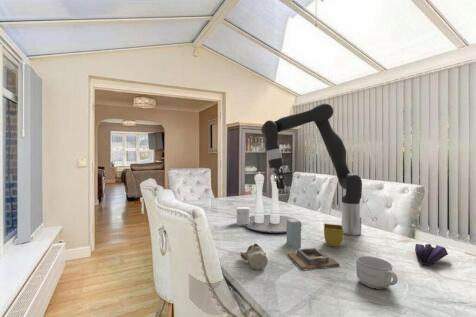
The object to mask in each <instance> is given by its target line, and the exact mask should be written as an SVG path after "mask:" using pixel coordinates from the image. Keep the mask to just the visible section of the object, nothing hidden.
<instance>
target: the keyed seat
mask: <svg viewBox="0 0 476 317" xmlns="http://www.w3.org/2000/svg"><path fill="white" fill-rule="evenodd" d="M286 255H287V257H289V259H290V260H291V261H292V262H293V263H294V264H295V263H296V264H297V265H298V266H299V267H300V268H301V269H302V270H301V269H300V268H299V267H298V266H297V265H296V264H295V265H296V266H297V267H298V268H299V269H300V270H301V271H304V270H303V269H308V270H315V268H318V269H325V267H327V268H335V267H340V263H339V262H338V261H336V260H335V259H334V258H332V257H331V256H330V255H328V254H326V253H325V252H324V251H322V250H321V249H318V248H316V247H310V248H308V247H307V248H298V249H296V252H286Z"/></svg>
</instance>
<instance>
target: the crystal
mask: <svg viewBox="0 0 476 317" xmlns="http://www.w3.org/2000/svg"><path fill="white" fill-rule="evenodd" d="M414 251H415V252H414V253H415V254H416V258H417V260H418V261H419V262H421V265H422V266H423V267H427V266H428V265H433V264H435V263H436V262H438V261H440V260H441V259H443V258H444V257H447V256H448V255H449V253H448V251H447V249H446V247H444V246H440V245H436V246H435V247H433V246H432V244H431V243H428V244H427V243H426V244H425V245H424V244H421V243H415V247H414Z"/></svg>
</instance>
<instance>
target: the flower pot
mask: <svg viewBox="0 0 476 317" xmlns="http://www.w3.org/2000/svg"><path fill="white" fill-rule="evenodd" d="M343 231H344V230H343V226H342V224H333V223H323V233H324V234H323V235H324V241H325V243H326V245H327V246H328V247H335V248H336V247H337V248H339V247H340V246H341V244H342V242H343V237H344V233H343Z"/></svg>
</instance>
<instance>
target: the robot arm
mask: <svg viewBox="0 0 476 317" xmlns="http://www.w3.org/2000/svg"><path fill="white" fill-rule="evenodd" d="M333 115H334V108H333V107H332V105H331V104H329V103H320V104H318V105H316V106H314V107H313V108H312V109H309V110H306V111H302V112H299V113H294V114H290V115H286V116H283V117H280V118H279V119H277V120H275V121H274V120H271V119H270V120H267V121H265V122H264V124H263V125H262V126H261V129H260V130H261V133H262V135H264V136H265V150H266V156H267V162H268V167H269V169H270V170H271V169H273V170H272V174H273V179H274V182H275V185H276V189H277V190H285V188H286V187H285V182H284V181H285V176H284V170H283V168H282V167H283V166H284V161H283V155H282V151H281V149H280V148H281V146H280V143H279V136H278V135H279V133H281V132H284V131H289V130H292V129H295V128H297V127H300V126H303V125H306V124H309V123H312V122H314V124H315V126H316V128H317V129H318V132H319V134H320V136H321V139H322V141H323V143H324V146H325V148H326V151H327V153H328V156H329V158H330V160H331V163H332V165H333V167H334V171H335V172H336V176H337V180H338V183H339V185H340V187H341V188H342V189H344V190H345V194H344V196H341V225H342V226H343V230H344V231H343V235H349V236H359V235H361V234H362V216H360V215H361V211H360V210H361V209H360V208H361V199H362V195H363V194H362V192H363V181H362V178H361V176H359V175H358V174H353V173H351V171H350V169H349V167H348V165H347V150H346V146H345V144H344V142H343V139H342V138H341V136H340V135H339V134H338V133H337V132H336V131H335V130H334V129H333V127H332V125H331V122H330V120H329V119H331V118H332V117H333Z"/></svg>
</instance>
